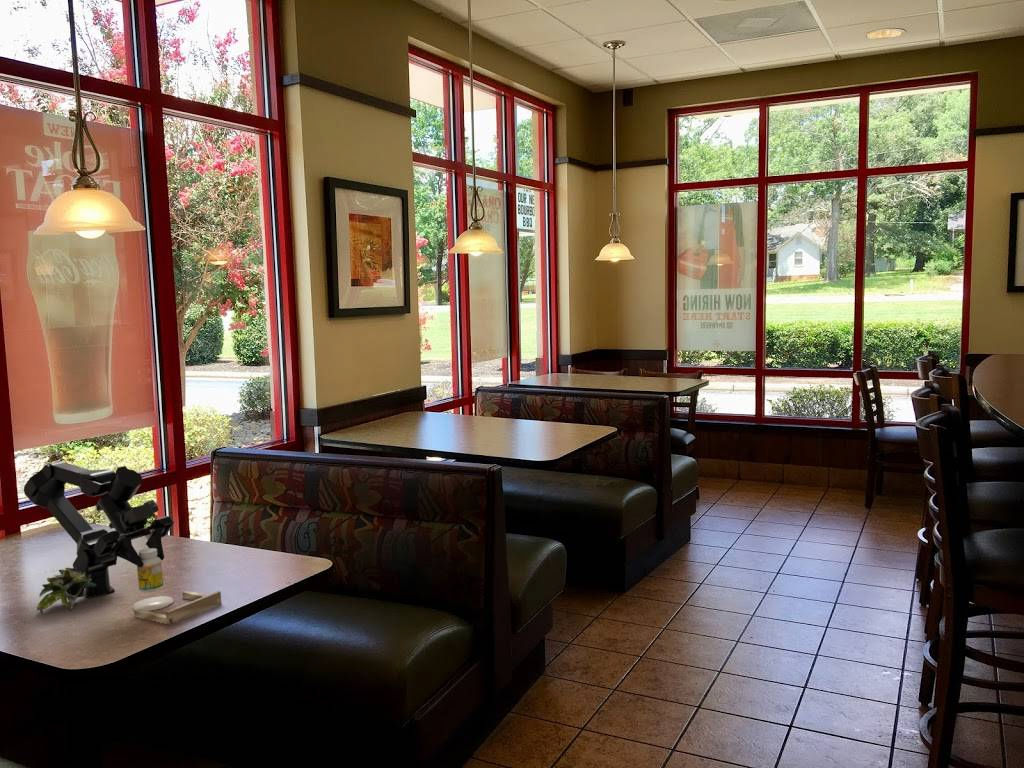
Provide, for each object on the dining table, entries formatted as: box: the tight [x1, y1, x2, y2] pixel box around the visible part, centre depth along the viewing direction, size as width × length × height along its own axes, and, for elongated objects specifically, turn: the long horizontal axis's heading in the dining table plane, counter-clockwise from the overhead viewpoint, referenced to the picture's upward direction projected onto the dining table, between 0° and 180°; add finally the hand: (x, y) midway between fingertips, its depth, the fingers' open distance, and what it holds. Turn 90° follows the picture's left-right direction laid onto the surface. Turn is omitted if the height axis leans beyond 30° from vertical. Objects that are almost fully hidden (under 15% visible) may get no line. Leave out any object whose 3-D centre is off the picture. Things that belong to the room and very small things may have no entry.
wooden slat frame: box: [133, 590, 222, 626], centre depth 194 cm, size 12×14×3 cm
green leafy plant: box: [36, 567, 96, 613], centre depth 199 cm, size 11×11×12 cm
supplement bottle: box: [136, 547, 164, 593], centre depth 198 cm, size 5×5×10 cm
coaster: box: [132, 595, 174, 612], centre depth 198 cm, size 9×9×1 cm
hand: (152, 562), depth 197 cm, fingers closed on supplement bottle, 5 cm apart
